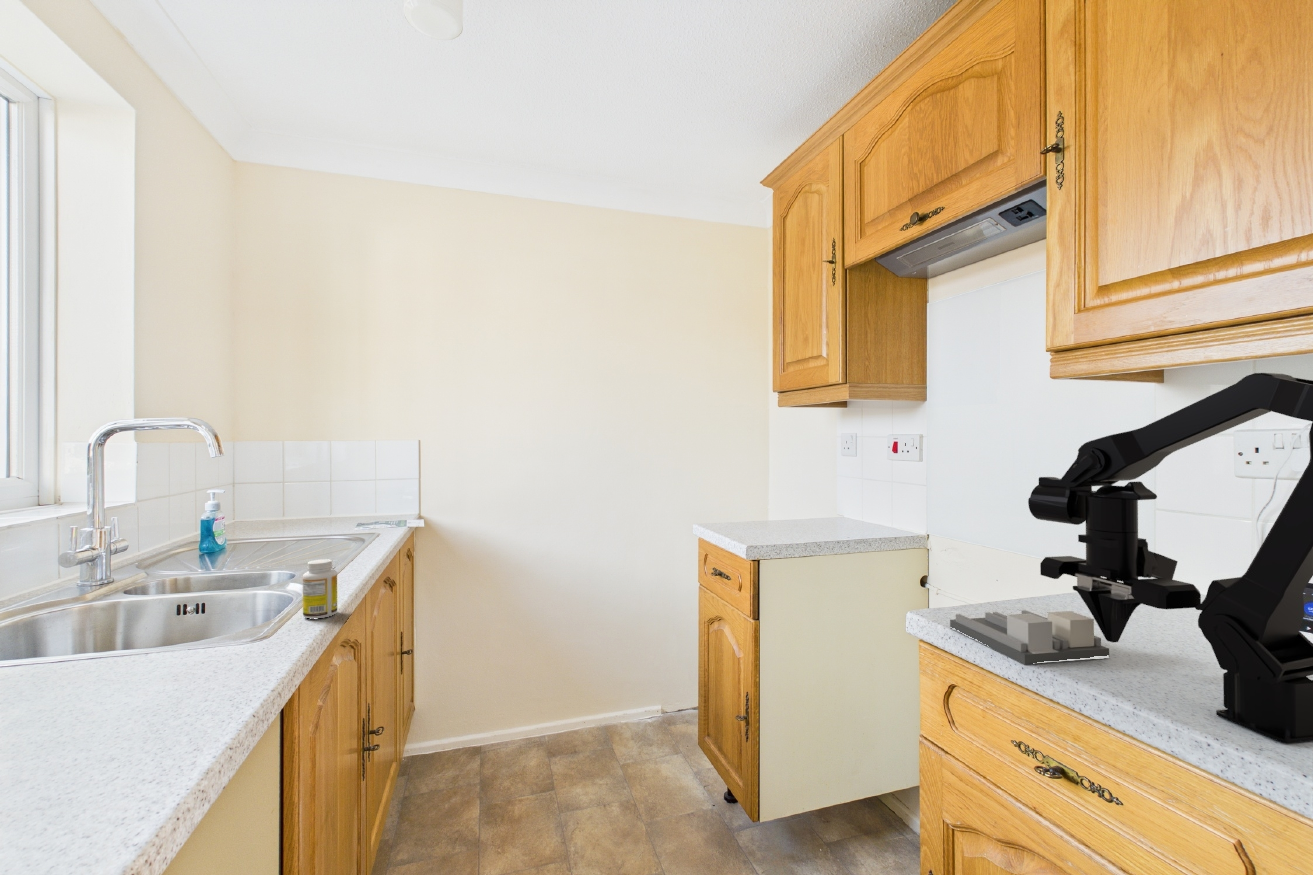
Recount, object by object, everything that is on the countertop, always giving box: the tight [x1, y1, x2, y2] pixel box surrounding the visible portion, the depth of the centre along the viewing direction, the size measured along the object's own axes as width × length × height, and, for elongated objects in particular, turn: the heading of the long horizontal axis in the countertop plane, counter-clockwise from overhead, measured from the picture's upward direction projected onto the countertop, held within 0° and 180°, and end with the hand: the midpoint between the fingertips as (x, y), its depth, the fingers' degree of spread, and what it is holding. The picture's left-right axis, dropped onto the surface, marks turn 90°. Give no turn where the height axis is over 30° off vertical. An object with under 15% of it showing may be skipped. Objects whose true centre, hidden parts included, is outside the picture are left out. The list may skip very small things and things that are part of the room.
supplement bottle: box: [302, 558, 338, 619], centre depth 106 cm, size 6×6×10 cm
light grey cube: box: [1006, 613, 1053, 651], centre depth 84 cm, size 4×4×4 cm
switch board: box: [949, 609, 1110, 666], centre depth 90 cm, size 16×14×3 cm
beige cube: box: [1046, 610, 1095, 648], centre depth 86 cm, size 4×4×4 cm
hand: (1112, 641), depth 79 cm, fingers closed
